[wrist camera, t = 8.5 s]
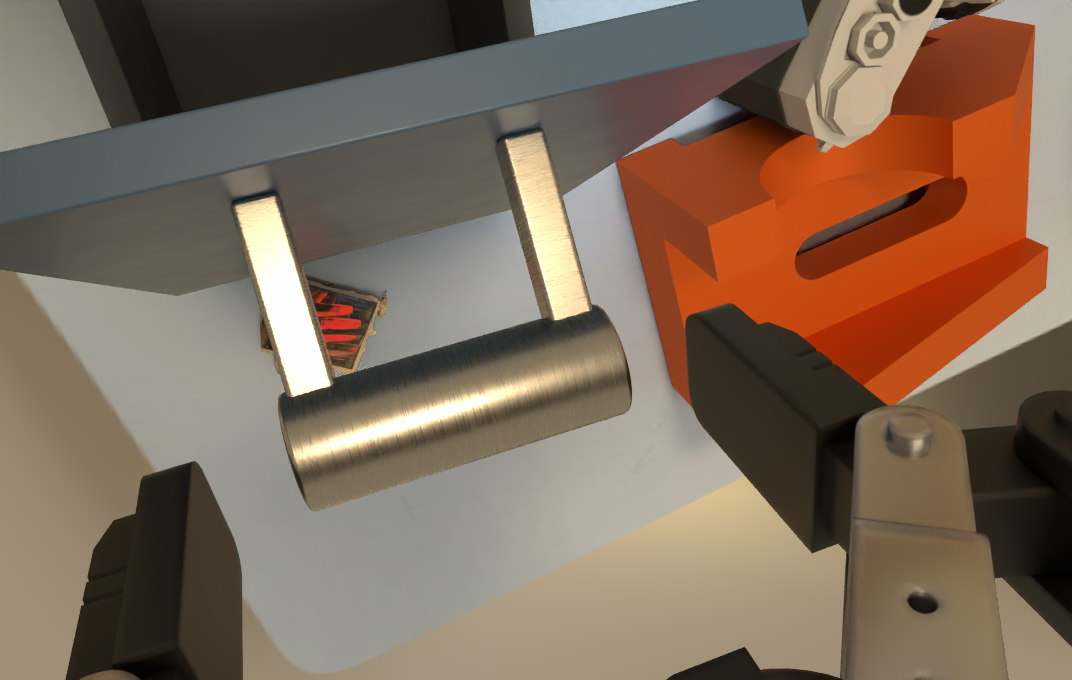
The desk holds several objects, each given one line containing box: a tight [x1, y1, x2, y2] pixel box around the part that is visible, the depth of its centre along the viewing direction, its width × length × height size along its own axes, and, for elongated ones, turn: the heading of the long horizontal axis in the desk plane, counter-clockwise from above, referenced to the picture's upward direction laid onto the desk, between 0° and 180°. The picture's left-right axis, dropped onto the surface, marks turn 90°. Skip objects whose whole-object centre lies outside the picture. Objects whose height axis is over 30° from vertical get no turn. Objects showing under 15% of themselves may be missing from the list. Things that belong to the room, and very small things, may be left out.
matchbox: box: [260, 281, 387, 374], centre depth 35 cm, size 5×5×1 cm
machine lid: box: [0, 0, 809, 511], centre depth 17 cm, size 14×12×5 cm
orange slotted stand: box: [616, 15, 1048, 408], centre depth 37 cm, size 18×13×8 cm
